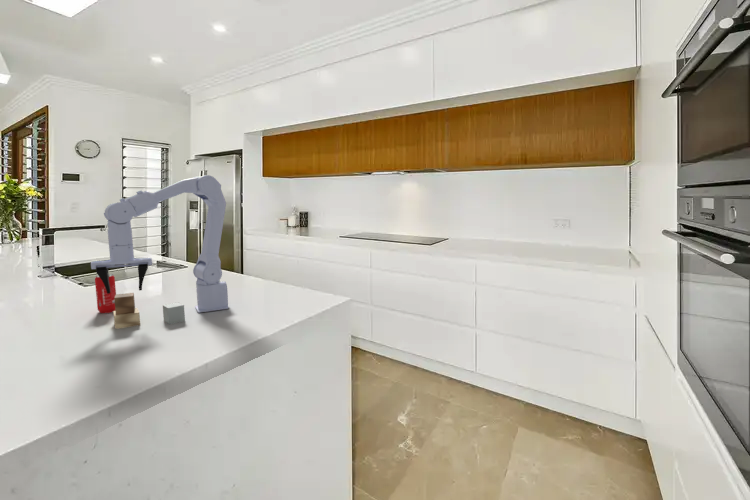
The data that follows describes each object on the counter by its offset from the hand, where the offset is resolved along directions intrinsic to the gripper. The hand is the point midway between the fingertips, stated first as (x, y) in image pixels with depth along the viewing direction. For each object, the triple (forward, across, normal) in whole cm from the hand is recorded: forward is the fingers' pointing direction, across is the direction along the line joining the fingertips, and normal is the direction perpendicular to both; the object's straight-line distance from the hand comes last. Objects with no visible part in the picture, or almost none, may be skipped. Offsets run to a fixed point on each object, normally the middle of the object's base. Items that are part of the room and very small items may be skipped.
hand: (124, 291), depth 109 cm
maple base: (+10, 0, 0) cm, 10 cm away
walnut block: (+6, 0, 0) cm, 6 cm away
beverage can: (+10, +6, -18) cm, 21 cm away
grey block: (+10, -12, +4) cm, 16 cm away
